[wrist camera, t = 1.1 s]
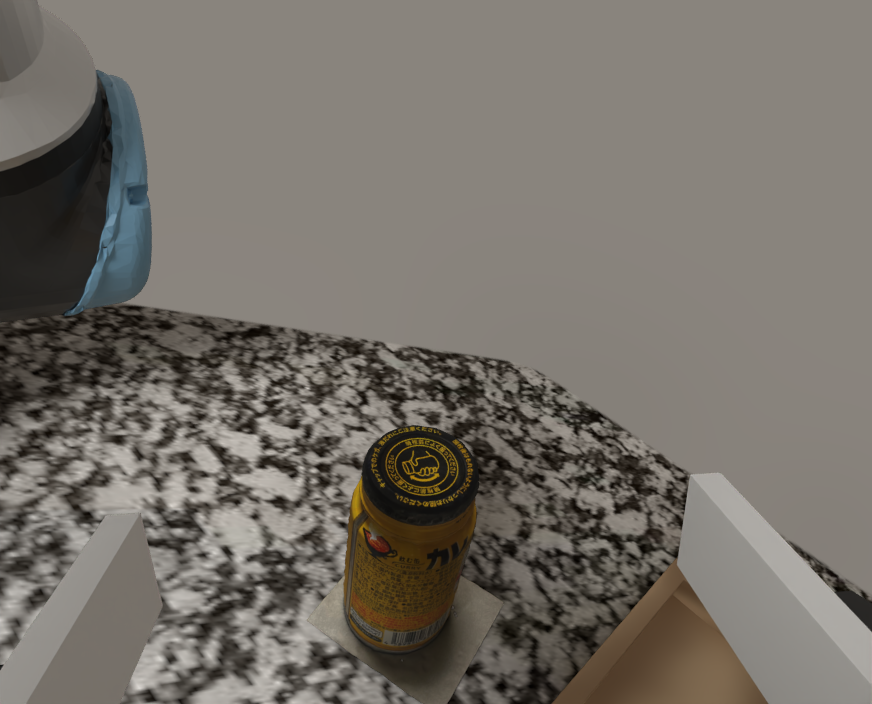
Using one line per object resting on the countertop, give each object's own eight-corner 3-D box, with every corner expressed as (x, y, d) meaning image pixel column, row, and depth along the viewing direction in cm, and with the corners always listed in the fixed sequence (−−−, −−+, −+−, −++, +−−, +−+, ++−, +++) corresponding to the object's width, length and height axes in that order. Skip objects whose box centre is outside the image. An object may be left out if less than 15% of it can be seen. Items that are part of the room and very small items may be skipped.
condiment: (383, 528, 38) (403, 389, 31) (503, 604, 35) (557, 471, 28) (305, 622, 33) (305, 483, 25) (439, 719, 30) (483, 595, 23)
